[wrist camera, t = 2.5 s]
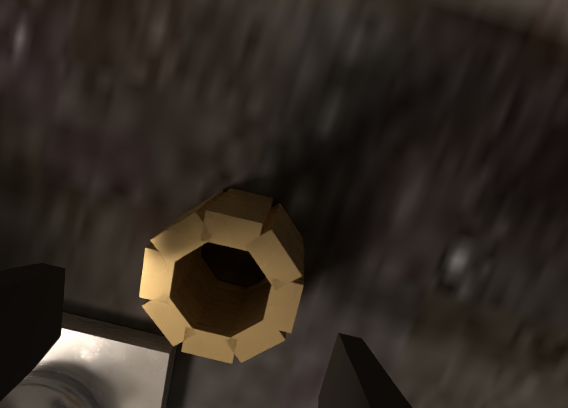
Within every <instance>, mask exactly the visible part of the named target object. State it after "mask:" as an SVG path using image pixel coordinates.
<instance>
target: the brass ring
mask: <svg viewBox="0 0 568 408" xmlns="http://www.w3.org/2000/svg"><path fill="white" fill-rule="evenodd" d="M272 203H273V198H271V197H267V196H262V195H258V194H254V193H250V192H245V191H241V190H237V189H232V188H230V189H229V190H228V191H227V192H224V190H223V189H222V190H221V191H219V192H218V193H216V194H214V195H213V196H211V197H210V198H208V199H207V200H205V201H203V202H202V203H200V204H199V205H197V206H196V207H194V208H192V209H191V210H189V211H188V212H186V213H185V214H184V215H182V216H181V217H180V218H179V219H177V220H176V221H175V222H173V223H172V224H171V225H169V226H168V227H167V228H166V229H164V230H163V231H162V232H160V233H159V234H158V235H156V236H155V237H154V238H153V239H151V242H152V243H151V244H150V245H149V246H147V247H146V248H145V255H144V263H143V271H142V279H141V287H140V294H139V297H141V298H145V299H147V301H146V302H145V303H144V304H143V305H142V307H143V308H144V309H145V311H146V312H147V313H148V315H149V316H150V317H151V318H152V320H153V321H154V322H155V324H156V325H157V326H158V327H159V329H160V330H161V331H162V333H163V334H164V335H165V336H166V338H167V339H168V340H169V342H170V343H171V344H172V345H173V346H175V345H177V344H179V343H181V342H183V345H182V351H181V352H185V353H189V354H193V355H198V356H202V357H206V358H210V359H214V360H219V361H223V362H227V363H231V364H232V362H233V359H234V356H235V355H236V356H237V358H238V359H239V360H240V362H241V363H242V362H244V361H246V360H248V359H250V358H251V357H253V356H255V355H257V354H259V353H261V352H263V351H265V350H267V349H269V348H271V347H273V346H275V345H277V344H279V343H281V342H283V341H285V339H286V332H288V333H291V332H292V328H293V324H294V320H295V317H296V313H297V309H298V305H299V301H300V298H301V294H302V290H303V286H304V246H303V237H302V236H301V234H300V233H299V231H298V230H297V228H296V227H295V225H294V223H293V222H292V220H291V219H290V217H289V216H288V214H287V213H286V211H285V210H284V208H283V206H282V205H281V203H279V204H277V205H275V206H274V207H272ZM271 207H272V208H271ZM207 242H211V243H215V244H219V245H224V246H228V247H232V248H236V249H241V250H245V251H249V252H250V254H251V255H252V257H253V258H254V260H255V261H256V263H257V264H258V266H259V267H260V268H261V270H262V271H263V273H264V274H265V276H266V277H267V278H265V279H263V280H261V281H259V282H258V283H256V284H254V285H252V286H250V287H249V288H246V287H242V286H238V285H234V284H229V283H225V282H221V281H218V279H217V278H216V277H215V275H214V274H213V273H212V271H211V270H210V268H209V267H208V266H207V264H206V263H205V261H204V260H203V259H202V257H201V254H202V249H203V244H205V243H207Z"/></svg>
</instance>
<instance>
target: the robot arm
mask: <svg viewBox="0 0 568 408" xmlns="http://www.w3.org/2000/svg"><path fill="white" fill-rule="evenodd" d="M64 283H65V268H61V267H57V266H52V265H48V264H44V263H40V264H34V265H28V266H22V267H18V268H13V269H8V270H4V271H0V401H1V400H2V399H3V398H5V397H6V396H7V395H8V394H9V393H10V392H11V391H12V390H13V389H14V388H15V387H16V386H17V385H18V384H19V383H20V382H21V381H22V380H23V379H24V378H25V377H26V376H27V375H28V374H29V373H31V371H32V370H33V369H34V368H35V367H36V366H37V365H38V363H39V362H40V361H41V360H42V359H43V358H44V357H45V355H46V354H47V353H48V352H49V350H50V349H51V348H52V347H53V346H54V344H55V343H56V342H57V341H58V339H59V338H60V337H61V331H62V315H63V299H64ZM318 408H412V407H411V405H410V404H409V403H408V401H407V400H406V399H405V397H404V396H403V395H402V393H401V392H400V391H399V389H398V388H397V387H396V385H395V384H394V383H393V381H392V380H391V378H390V377H389V376H388V374H387V373H386V371H385V370H384V369H383V367H382V366H381V364H380V363H379V362H378V360H377V359H376V357H375V356H374V355H373V353H372V352H371V350H370V349H369V348H368V346H367V345H366V343H365V342H364V341H363V340H362V338H358V337H353V336H349V335H345V334H341V333H338V336H337V339H336V342H335V345H334V349H333V352H332V355H331V359H330V362H329V365H328V368H327V372H326V375H325V378H324V381H323V385H322V388H321V391H320V394H319V402H318Z"/></svg>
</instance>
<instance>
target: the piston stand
mask: <svg viewBox="0 0 568 408" xmlns="http://www.w3.org/2000/svg"><path fill="white" fill-rule="evenodd" d="M176 348H177V345H175V346H173V345H172V344H171V343H170V342H169V340H168V339H167V338H166V336H161V335H157V334H153V333H149V332H145V331H140V330H136V329H132V328H128V327H124V326H119V325H115V324H111V323H107V322H103V321H99V320H94V319H90V318H86V317H82V316H78V315H73V314H69V313H65V312H63V315H62V331H61V337H60V338H59V339H58V341H57V342H56V343H55V344H54V346H53V347H52V348H51V349H50V350H49V352H48V353H47V354H46V355H45V357H44V358H43V359H42V360H41V361H40V362H39V363H38V365H37V366H36V367H35V368H34V369H33V370H32V371H31V373H29V374H28V375H27V376H26V377H25V378H24V379H23V380H22V381H21V382H20V383H19V384H18V385H17V386H16V387H15V388H14V389H13V390H12V391H11V392H10V393H9V394H8V395H7V396H6V397H5V398H3V399H2V400H1V401H0V408H167V402H168V396H169V390H170V384H171V378H172V372H173V366H174V360H175V354H176Z"/></svg>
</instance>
